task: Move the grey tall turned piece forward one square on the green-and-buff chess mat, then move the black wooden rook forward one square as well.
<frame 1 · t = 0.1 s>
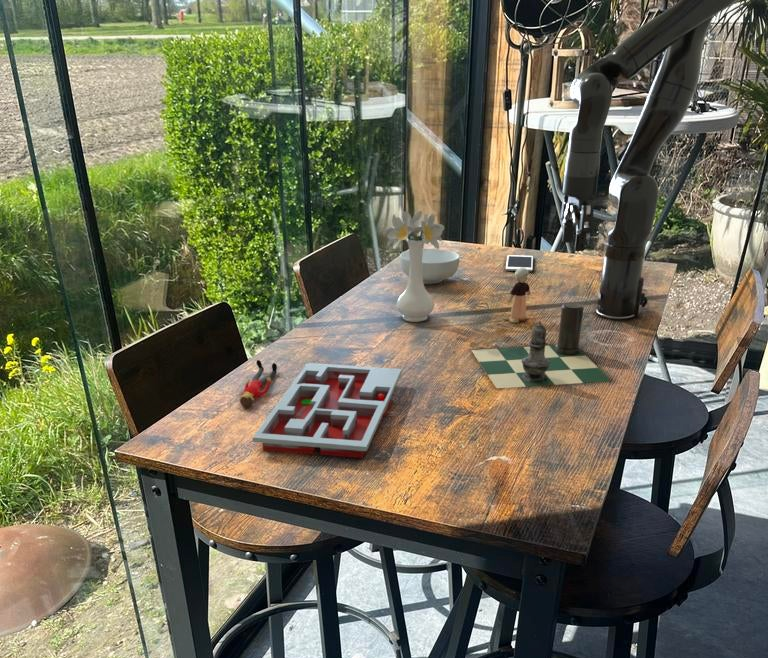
hand: (573, 246, 188), 17 cm above the table, tool pointing down, fingers open, 8 cm apart
grey tall turned piece: (534, 378, 164), resting on chess mat
rook: (567, 350, 177), resting on chess mat
cereal bowl: (429, 280, 227), on the table
chess mat: (537, 365, 170), on the table
flower vase: (414, 318, 198), on the table
cell phone: (519, 264, 240), on the table
grandmother figurine: (518, 320, 196), on the table
person figure: (257, 392, 160), on the table
maze game: (334, 416, 149), on the table
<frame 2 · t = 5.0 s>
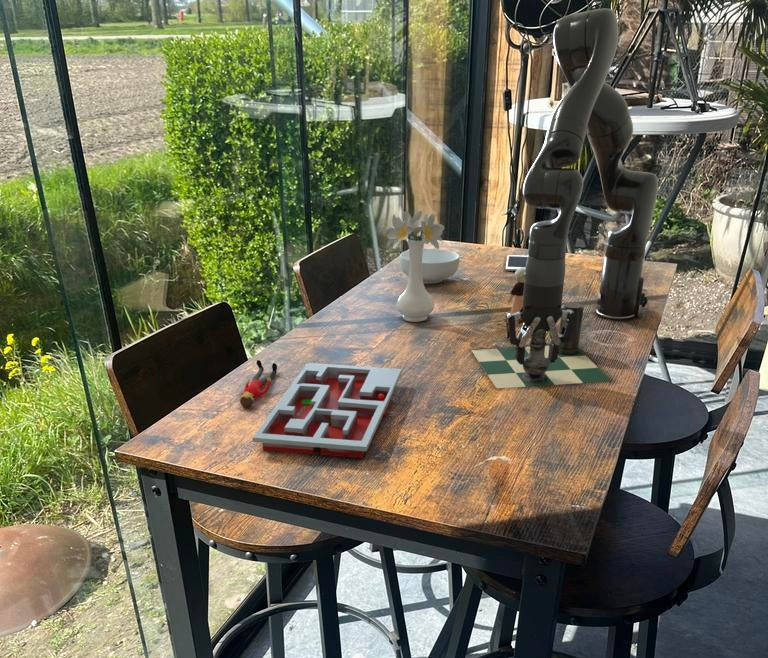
hand: (536, 362, 162), 4 cm above the table, tool pointing down, fingers closed on grey tall turned piece, 6 cm apart
grey tall turned piece: (534, 378, 164), resting on chess mat, touching gripper
everything else where it was.
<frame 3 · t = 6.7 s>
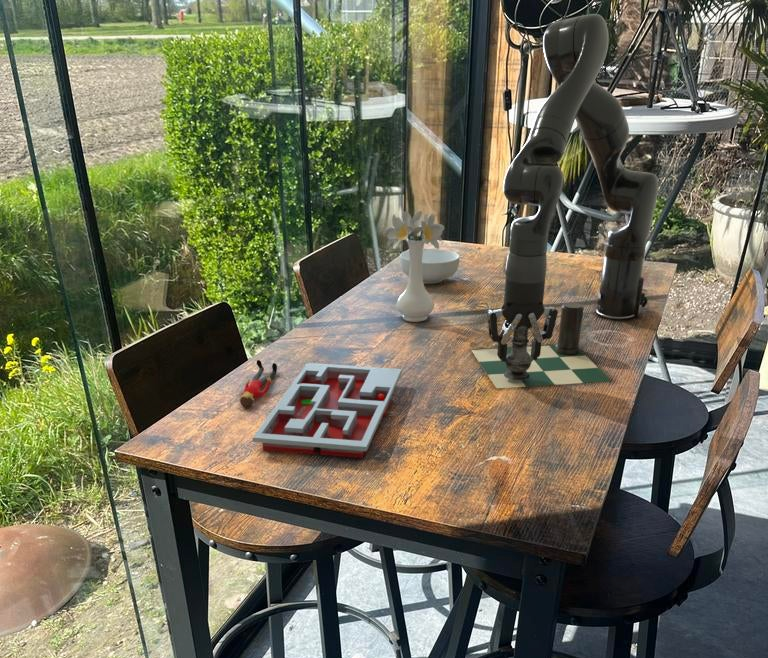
hand: (518, 359, 161), 4 cm above the table, tool pointing down, fingers closed on grey tall turned piece, 6 cm apart
grey tall turned piece: (516, 376, 163), point 1 cm above the table, touching gripper
everything else where it was.
when the fingers open (4 cm above the table, at t = 8.4 s): grey tall turned piece stays where it is, resting on chess mat.
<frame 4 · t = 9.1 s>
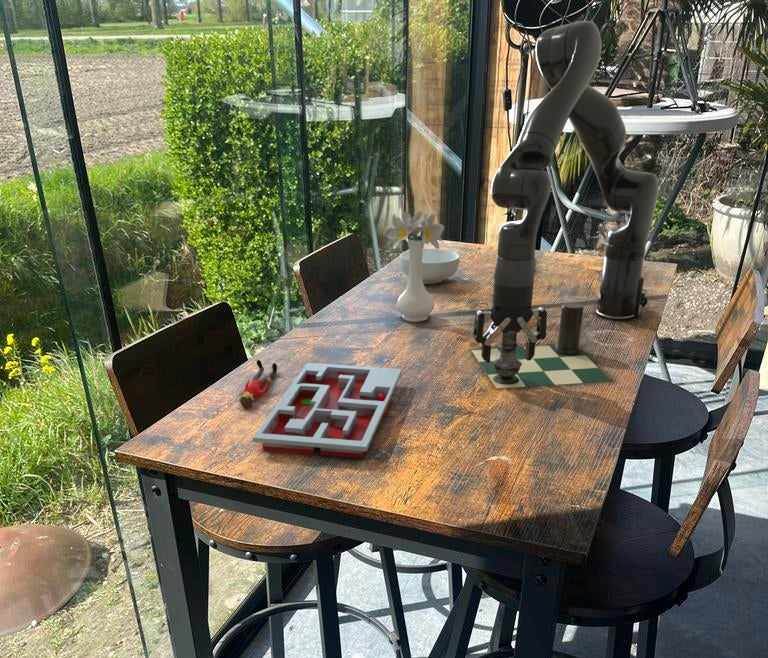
hand: (507, 360, 161), 4 cm above the table, tool pointing down, fingers open, 8 cm apart
grey tall turned piece: (505, 380, 164), resting on chess mat
everything else where it was.
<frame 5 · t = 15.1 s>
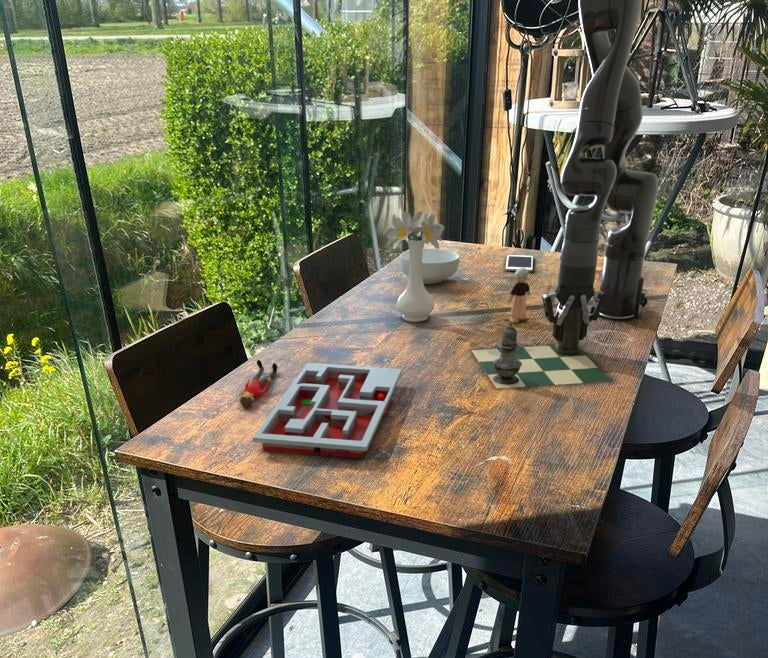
hand: (569, 339, 176), 3 cm above the table, tool pointing down, fingers closed on rook, 4 cm apart
rook: (567, 350, 177), resting on chess mat, touching gripper
everything else where it was.
when the fingers open (3 cm above the table, at t = 18.3 s): rook stays where it is, resting on chess mat.
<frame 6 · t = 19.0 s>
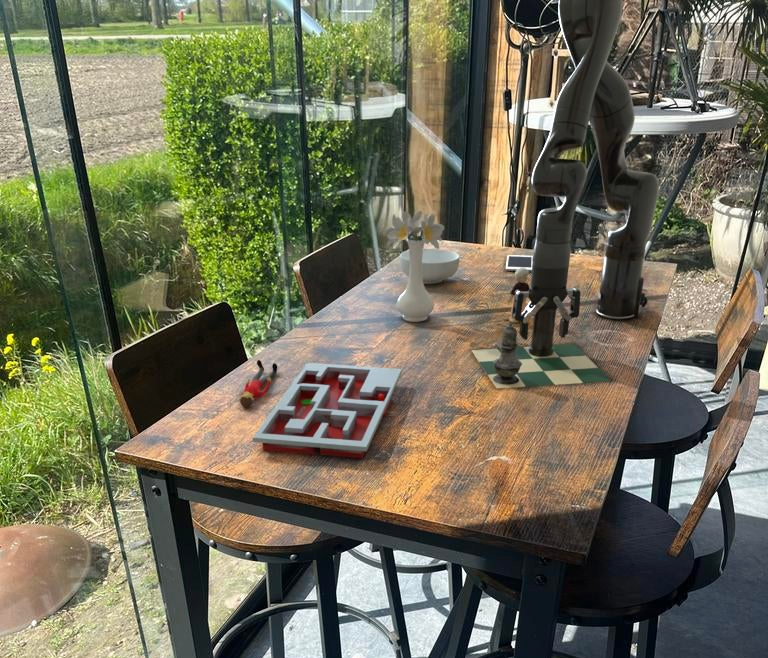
hand: (543, 337, 175), 4 cm above the table, tool pointing down, fingers open, 8 cm apart
rook: (540, 352, 177), resting on chess mat
everything else where it was.
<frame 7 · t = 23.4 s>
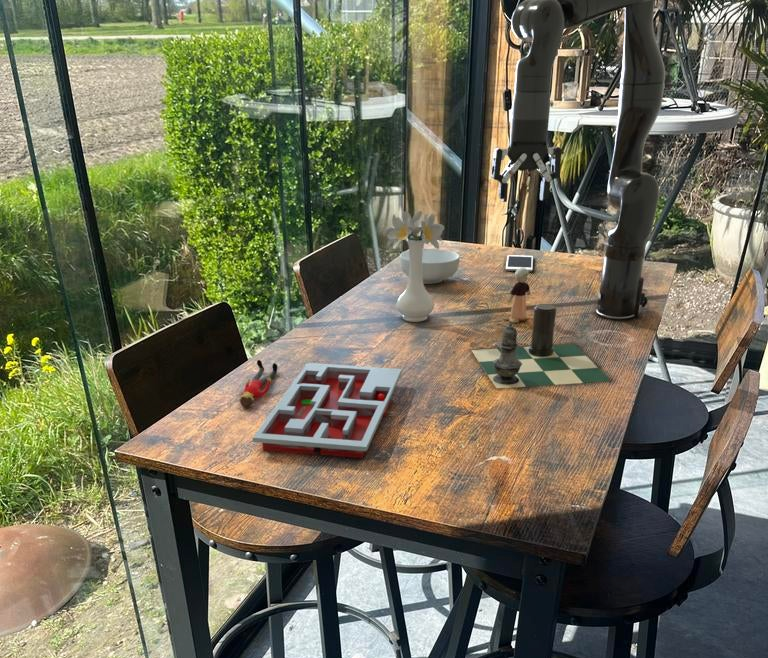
hand: (523, 200, 170), 30 cm above the table, tool pointing down, fingers open, 8 cm apart
nothing on the table moved.
at the end: grey tall turned piece 0.3 cm from the target spot, resting on chess mat; rook 0.1 cm from the target spot, resting on chess mat; rook tilted 0° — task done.
